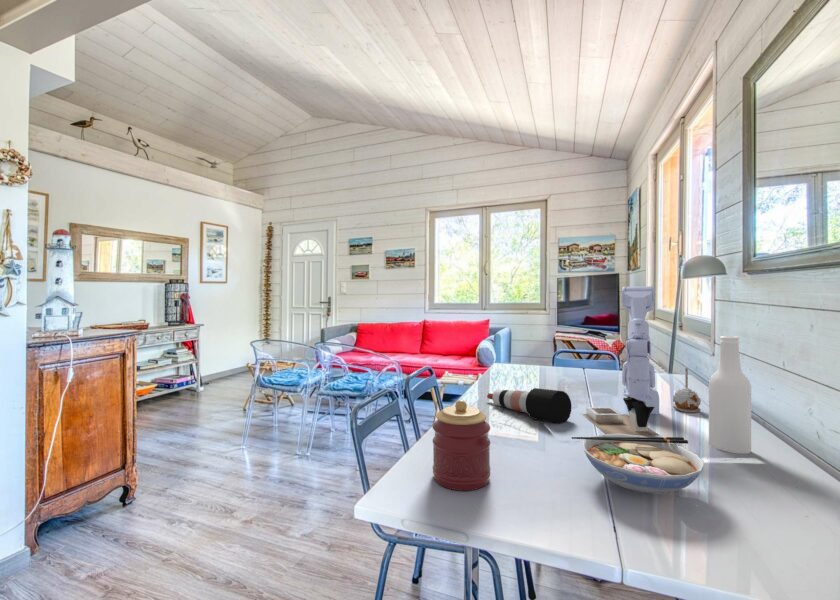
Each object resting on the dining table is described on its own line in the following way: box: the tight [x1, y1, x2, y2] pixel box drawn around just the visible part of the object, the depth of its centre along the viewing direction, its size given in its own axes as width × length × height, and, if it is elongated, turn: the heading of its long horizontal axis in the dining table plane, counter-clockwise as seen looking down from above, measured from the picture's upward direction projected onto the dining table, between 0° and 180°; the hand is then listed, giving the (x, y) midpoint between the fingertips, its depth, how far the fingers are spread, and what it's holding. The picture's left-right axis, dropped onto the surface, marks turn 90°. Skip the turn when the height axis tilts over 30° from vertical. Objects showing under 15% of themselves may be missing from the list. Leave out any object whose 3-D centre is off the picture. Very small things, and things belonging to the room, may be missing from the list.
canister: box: [432, 399, 492, 491], centre depth 89 cm, size 13×13×18 cm
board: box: [581, 413, 660, 436], centre depth 123 cm, size 15×20×1 cm
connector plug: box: [628, 408, 649, 431], centre depth 118 cm, size 4×4×7 cm
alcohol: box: [708, 335, 752, 454], centre depth 104 cm, size 9×9×30 cm
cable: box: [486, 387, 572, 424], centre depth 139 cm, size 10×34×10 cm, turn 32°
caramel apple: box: [672, 367, 702, 413], centre depth 140 cm, size 8×8×15 cm
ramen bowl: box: [571, 433, 705, 495], centre depth 85 cm, size 25×23×8 cm
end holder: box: [585, 406, 623, 423], centre depth 128 cm, size 8×8×2 cm
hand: (638, 424), depth 118 cm, fingers closed on connector plug, 4 cm apart
